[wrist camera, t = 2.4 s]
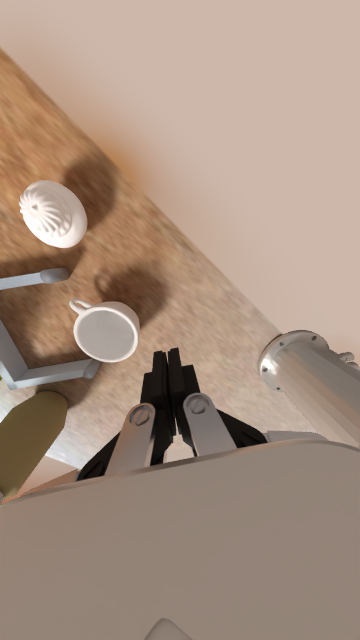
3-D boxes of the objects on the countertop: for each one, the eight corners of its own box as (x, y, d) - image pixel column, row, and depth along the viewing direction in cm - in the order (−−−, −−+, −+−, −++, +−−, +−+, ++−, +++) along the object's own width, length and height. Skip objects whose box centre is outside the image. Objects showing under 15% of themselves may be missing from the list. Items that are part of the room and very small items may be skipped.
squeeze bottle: (32, 420, 32) (-112, 601, 15) (20, 385, 29) (-173, 560, 13) (78, 418, 33) (-13, 590, 16) (71, 384, 30) (-49, 549, 13)
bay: (67, 266, 23) (51, 268, 20) (103, 363, 29) (95, 377, 26) (-31, 282, 23) (-63, 287, 20) (25, 377, 29) (7, 393, 26)
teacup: (153, 319, 27) (151, 334, 22) (122, 351, 29) (113, 372, 24) (99, 274, 24) (81, 279, 19) (67, 312, 26) (43, 326, 21)
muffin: (35, 200, 21) (-26, 175, 14) (84, 185, 20) (46, 153, 14) (61, 254, 23) (19, 254, 16) (105, 241, 23) (82, 236, 16)
